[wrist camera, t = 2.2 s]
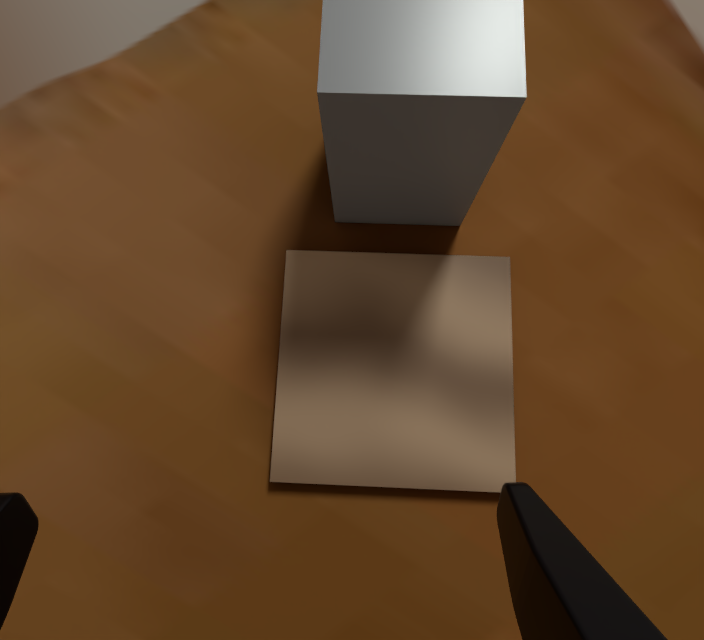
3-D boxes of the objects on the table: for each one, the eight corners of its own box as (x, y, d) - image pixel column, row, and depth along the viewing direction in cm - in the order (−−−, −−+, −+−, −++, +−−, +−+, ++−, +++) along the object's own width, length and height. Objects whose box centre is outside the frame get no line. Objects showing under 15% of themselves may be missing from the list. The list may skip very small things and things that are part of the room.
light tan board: (511, 491, 22) (515, 493, 21) (272, 480, 22) (269, 481, 21) (506, 261, 24) (509, 257, 23) (288, 253, 24) (286, 249, 24)
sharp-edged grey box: (460, 225, 24) (526, 97, 14) (335, 222, 24) (317, 92, 15) (459, 114, 26) (520, -74, 16) (340, 111, 26) (327, -77, 16)
